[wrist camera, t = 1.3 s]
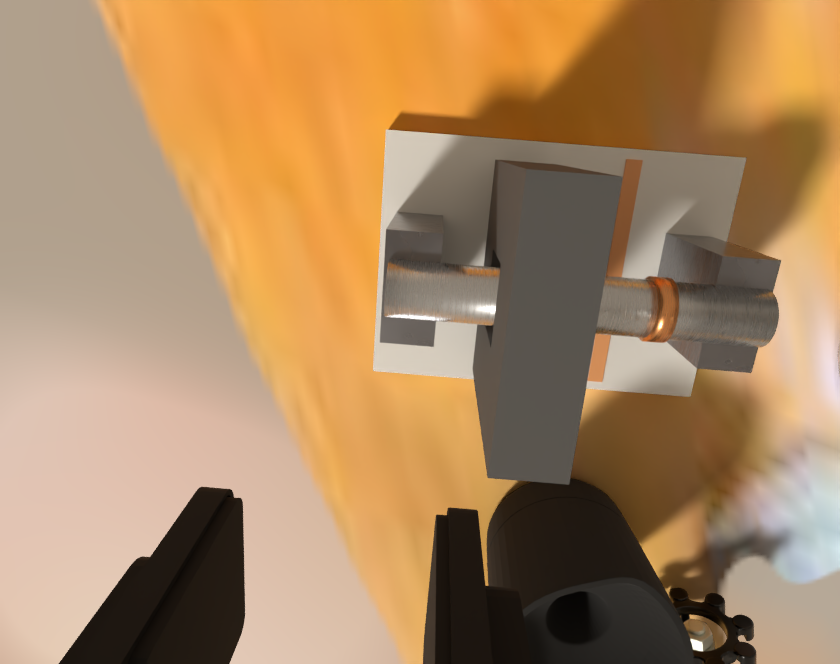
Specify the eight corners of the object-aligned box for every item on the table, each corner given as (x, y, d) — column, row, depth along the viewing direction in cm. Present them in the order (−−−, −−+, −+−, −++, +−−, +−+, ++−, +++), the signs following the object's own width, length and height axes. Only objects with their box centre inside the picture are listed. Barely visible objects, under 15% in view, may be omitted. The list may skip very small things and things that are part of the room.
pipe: (712, 236, 31) (800, 267, 23) (691, 328, 32) (768, 385, 25) (396, 211, 31) (383, 234, 23) (391, 304, 32) (376, 353, 25)
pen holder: (506, 609, 40) (527, 756, 30) (459, 494, 37) (466, 615, 28) (645, 571, 38) (712, 712, 29) (606, 449, 36) (667, 560, 26)
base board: (737, 157, 30) (747, 157, 29) (683, 390, 34) (691, 397, 33) (387, 130, 30) (385, 129, 29) (374, 364, 34) (372, 371, 33)
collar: (556, 164, 29) (623, 176, 18) (527, 373, 32) (568, 484, 22) (495, 159, 29) (526, 169, 18) (472, 368, 32) (487, 477, 22)
